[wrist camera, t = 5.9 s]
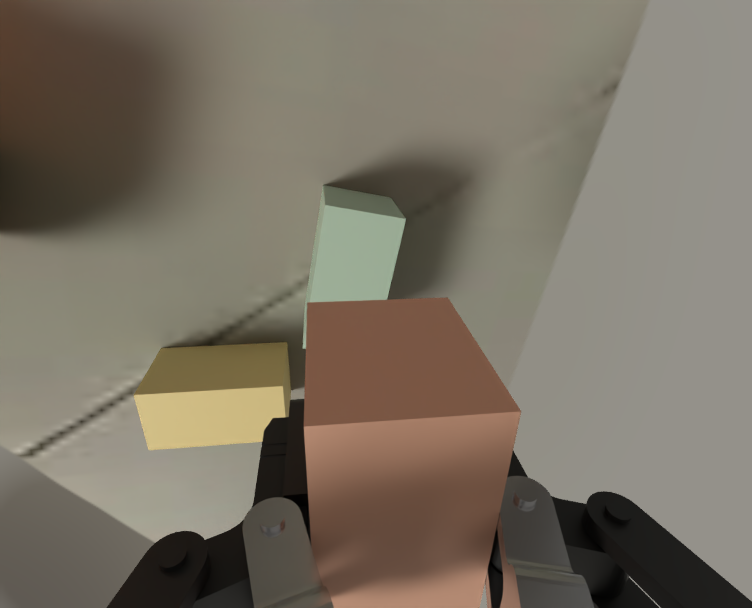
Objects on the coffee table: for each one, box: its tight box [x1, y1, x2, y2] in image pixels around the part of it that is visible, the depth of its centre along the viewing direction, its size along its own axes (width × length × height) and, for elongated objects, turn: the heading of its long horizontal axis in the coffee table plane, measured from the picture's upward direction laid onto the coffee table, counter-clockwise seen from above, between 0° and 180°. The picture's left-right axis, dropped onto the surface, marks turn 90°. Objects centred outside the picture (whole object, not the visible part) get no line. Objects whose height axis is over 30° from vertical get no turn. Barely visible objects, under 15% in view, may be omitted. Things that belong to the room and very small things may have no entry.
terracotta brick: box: [304, 298, 521, 608], centre depth 12 cm, size 8×4×5 cm, turn 179°
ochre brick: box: [134, 342, 291, 450], centre depth 27 cm, size 8×4×5 cm, turn 89°
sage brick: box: [303, 185, 406, 349], centre depth 25 cm, size 8×4×5 cm, turn 168°
